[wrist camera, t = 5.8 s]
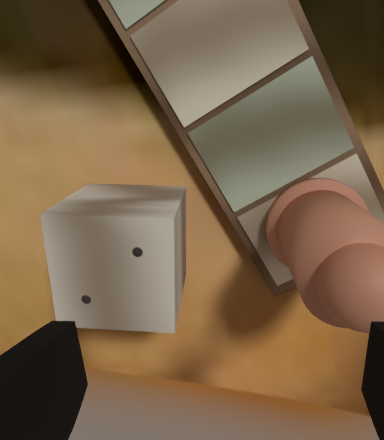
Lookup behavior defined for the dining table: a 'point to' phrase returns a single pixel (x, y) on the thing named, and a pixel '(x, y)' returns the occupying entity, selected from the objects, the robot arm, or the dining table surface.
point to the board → (248, 105)
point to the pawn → (330, 251)
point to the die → (118, 256)
